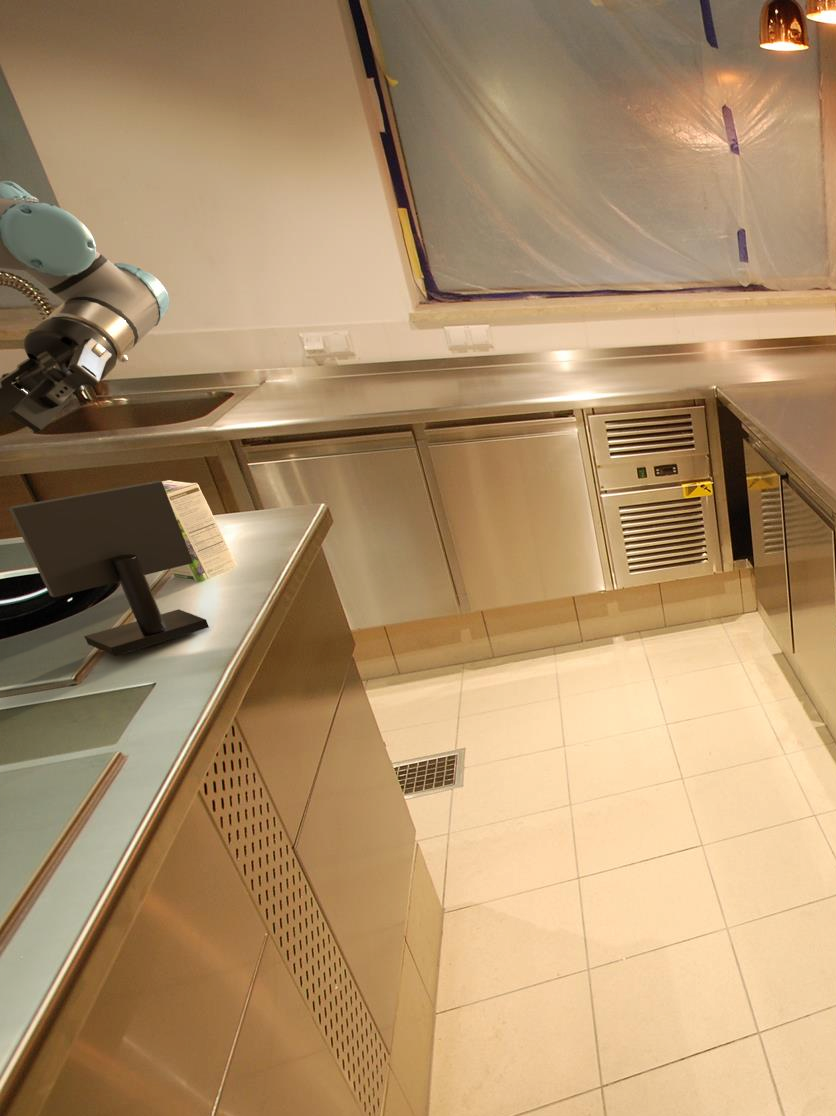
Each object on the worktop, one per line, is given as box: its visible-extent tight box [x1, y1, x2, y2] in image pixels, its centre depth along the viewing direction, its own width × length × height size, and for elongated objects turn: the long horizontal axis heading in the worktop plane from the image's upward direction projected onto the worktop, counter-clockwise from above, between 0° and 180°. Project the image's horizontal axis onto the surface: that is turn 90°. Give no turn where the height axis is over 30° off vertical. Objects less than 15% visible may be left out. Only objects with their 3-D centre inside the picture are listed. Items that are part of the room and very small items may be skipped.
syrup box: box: [161, 479, 238, 583], centre depth 124 cm, size 6×6×14 cm
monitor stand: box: [83, 554, 210, 657], centre depth 107 cm, size 10×7×11 cm
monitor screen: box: [8, 480, 193, 598], centre depth 104 cm, size 14×1×11 cm, turn 153°
